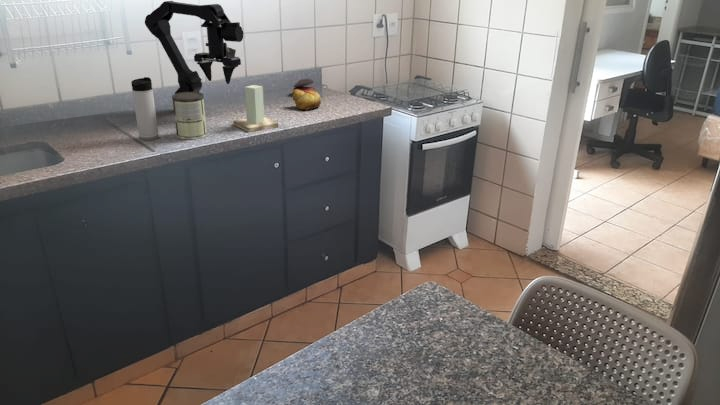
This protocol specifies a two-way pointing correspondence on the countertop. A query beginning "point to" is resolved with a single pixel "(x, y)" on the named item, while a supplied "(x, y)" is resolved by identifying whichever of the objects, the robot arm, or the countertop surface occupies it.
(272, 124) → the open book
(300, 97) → the bread roll
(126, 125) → the countertop surface
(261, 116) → the sage block
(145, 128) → the travel mug
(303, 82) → the dark grey rounded piece
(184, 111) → the coffee can
